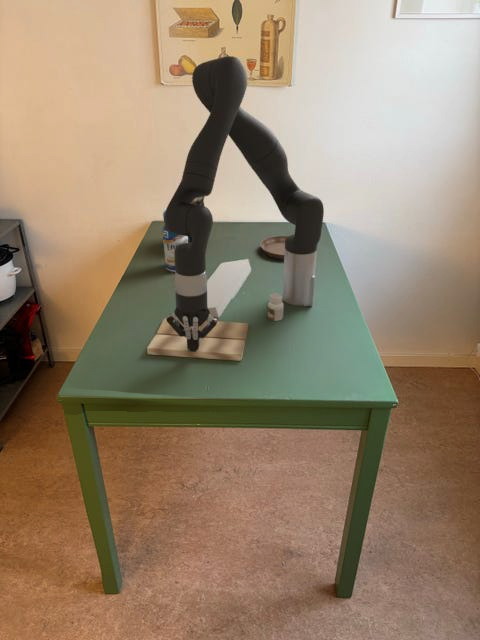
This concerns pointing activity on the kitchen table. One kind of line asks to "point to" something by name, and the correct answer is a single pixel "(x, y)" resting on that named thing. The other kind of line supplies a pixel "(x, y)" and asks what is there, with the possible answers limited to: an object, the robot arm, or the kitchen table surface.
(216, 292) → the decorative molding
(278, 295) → the pill bottle
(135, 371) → the kitchen table surface
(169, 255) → the beverage bottle
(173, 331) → the laid plank
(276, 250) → the plant saucer
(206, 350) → the oak plank
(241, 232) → the kitchen table surface
